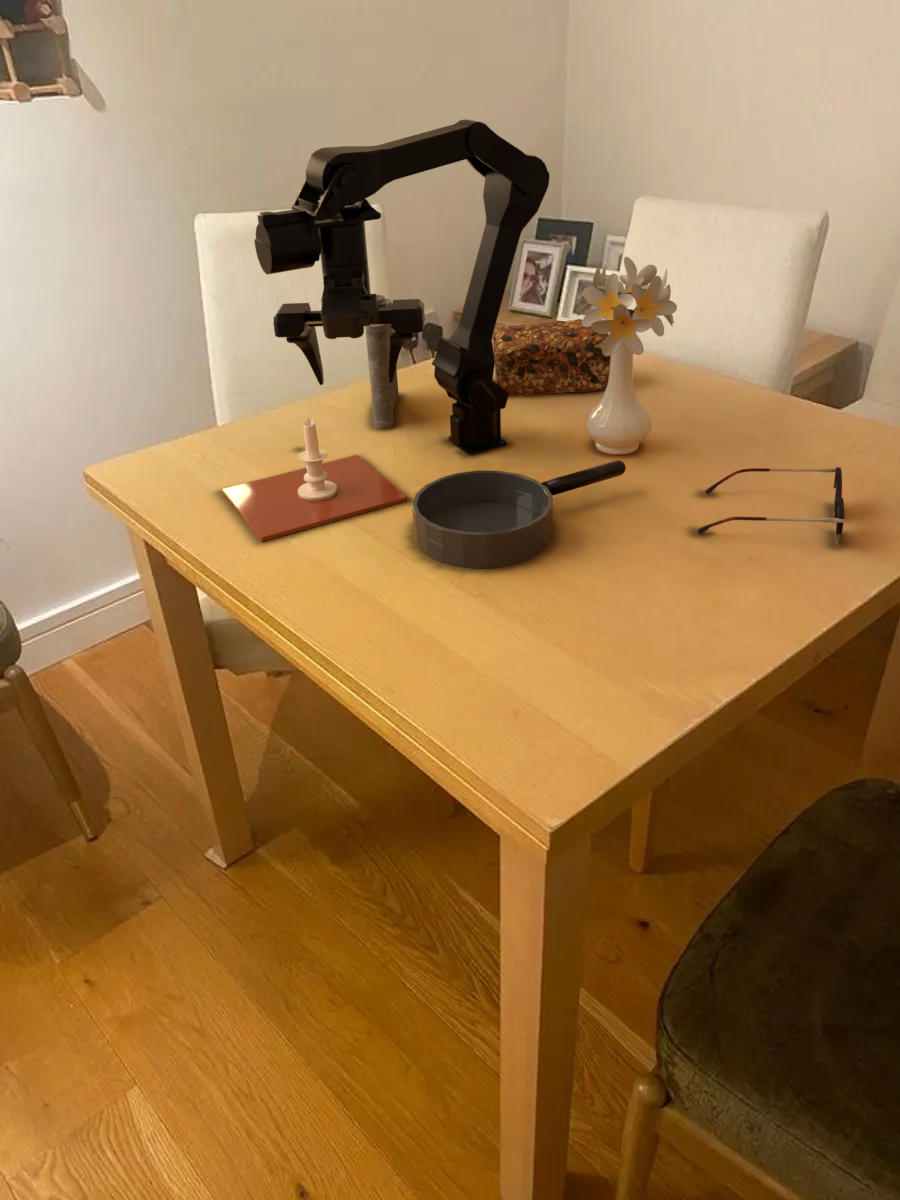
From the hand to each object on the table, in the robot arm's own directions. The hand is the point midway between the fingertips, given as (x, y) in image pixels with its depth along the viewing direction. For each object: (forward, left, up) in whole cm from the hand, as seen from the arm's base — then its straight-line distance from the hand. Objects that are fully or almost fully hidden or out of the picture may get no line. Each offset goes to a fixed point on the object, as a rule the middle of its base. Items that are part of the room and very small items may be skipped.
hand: (356, 382), depth 128 cm
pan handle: (-20, +24, -10) cm, 33 cm away
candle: (+8, +3, -13) cm, 15 cm away
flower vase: (-34, +13, -13) cm, 39 cm away
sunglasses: (-36, +40, -13) cm, 55 cm away
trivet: (+9, +3, -13) cm, 16 cm away
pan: (-5, +24, -13) cm, 28 cm away
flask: (-12, -19, -13) cm, 26 cm away
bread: (-40, -14, -13) cm, 44 cm away
